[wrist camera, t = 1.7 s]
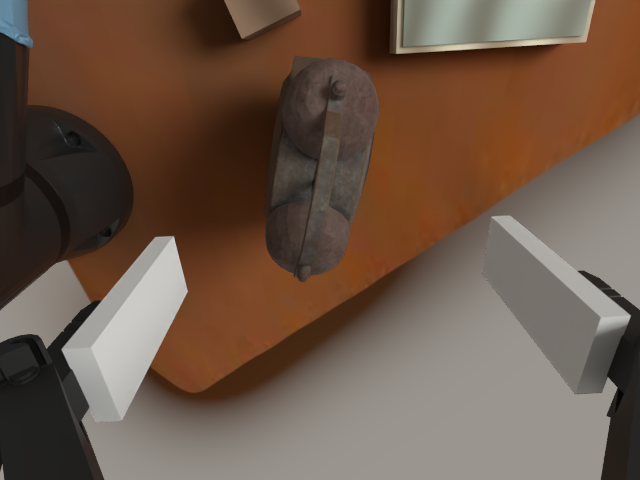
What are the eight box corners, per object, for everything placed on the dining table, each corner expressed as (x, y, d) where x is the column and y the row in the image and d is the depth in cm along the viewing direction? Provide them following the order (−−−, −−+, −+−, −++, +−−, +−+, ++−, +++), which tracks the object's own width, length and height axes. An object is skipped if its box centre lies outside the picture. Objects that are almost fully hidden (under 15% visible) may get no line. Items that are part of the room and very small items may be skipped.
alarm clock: (338, 208, 42) (359, 329, 24) (271, 197, 41) (242, 313, 23) (370, 64, 35) (434, 79, 17) (292, 48, 35) (275, 46, 17)
